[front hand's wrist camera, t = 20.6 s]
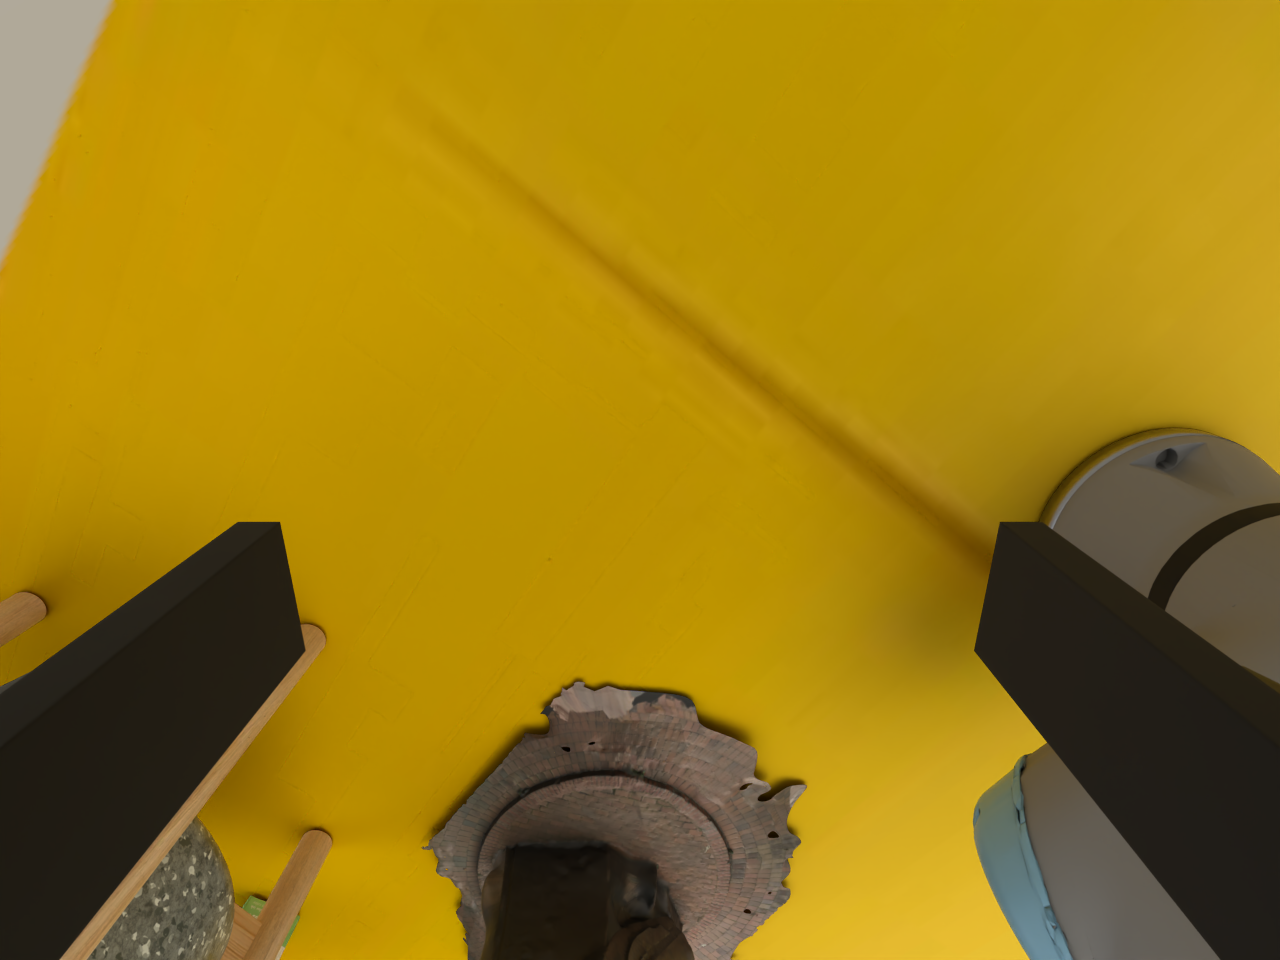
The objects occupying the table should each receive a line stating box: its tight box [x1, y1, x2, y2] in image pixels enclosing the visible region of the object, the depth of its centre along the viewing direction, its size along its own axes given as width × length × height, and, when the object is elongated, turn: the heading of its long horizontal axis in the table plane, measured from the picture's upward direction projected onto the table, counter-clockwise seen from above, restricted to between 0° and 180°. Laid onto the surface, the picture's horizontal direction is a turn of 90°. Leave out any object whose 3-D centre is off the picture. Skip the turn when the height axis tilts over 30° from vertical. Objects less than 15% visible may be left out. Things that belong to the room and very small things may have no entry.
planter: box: [0, 592, 332, 960], centre depth 37 cm, size 22×22×32 cm
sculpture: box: [422, 682, 807, 960], centre depth 50 cm, size 33×35×16 cm
